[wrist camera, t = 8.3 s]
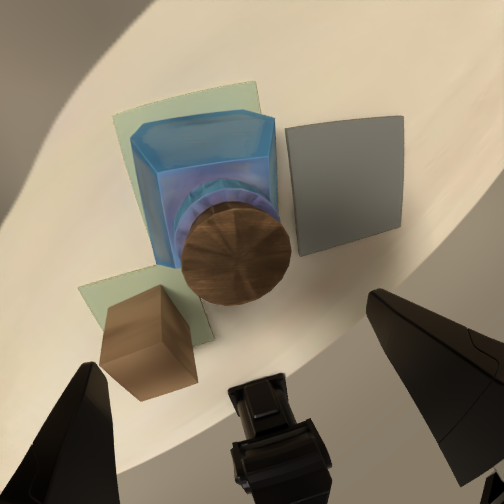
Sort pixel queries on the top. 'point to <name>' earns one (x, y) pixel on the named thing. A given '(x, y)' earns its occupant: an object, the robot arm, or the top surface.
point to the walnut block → (148, 345)
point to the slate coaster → (346, 180)
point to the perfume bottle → (214, 202)
